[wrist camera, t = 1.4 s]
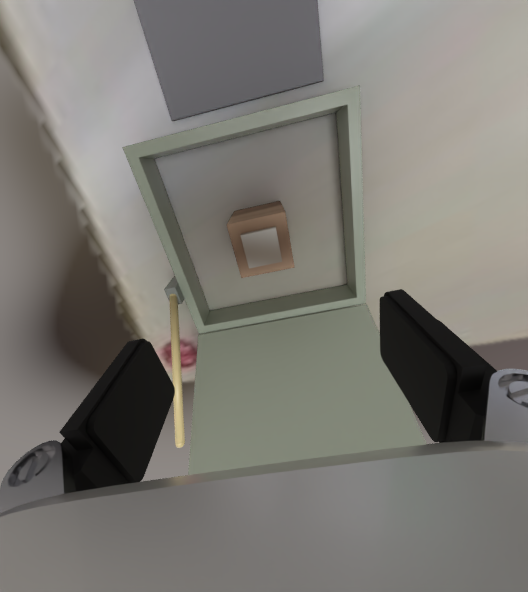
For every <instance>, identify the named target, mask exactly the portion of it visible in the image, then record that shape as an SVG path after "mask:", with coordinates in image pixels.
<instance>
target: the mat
mask: <svg viewBox="0 0 528 592" xmlns="http://www.w3.org/2000/svg"><path fill="white" fill-rule="evenodd" d="M134 3H135V6H136V9H137V12H138V16H139V19H140V22H141V25H142V28H143V31H144V34H145V38H146V41H147V44H148V47H149V50H150V53H151V57H152V60H153V63H154V66H155V69H156V72H157V75H158V79H159V82H160V85H161V88H162V91H163V94H164V97H165V101H166V104H167V107H168V110H169V113H170V116H171V120H172V121H175V120H179V119H183V118H186V117H190V116H194V115H198V114H202V113H205V112H209V111H213V110H217V109H220V108H224V107H228V106H232V105H235V104H239V103H243V102H247V101H250V100H254V99H258V98H262V97H266V96H269V95H273V94H277V93H281V92H284V91H288V90H292V89H296V88H299V87H303V86H307V85H311V84H314V83H318V82H322V81H323V80H324V77H323V65H322V52H321V40H320V27H319V14H318V2H317V0H134Z"/></svg>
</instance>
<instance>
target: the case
mask: <svg viewBox="0 0 528 592" xmlns="http://www.w3.org/2000/svg"><path fill="white" fill-rule="evenodd" d="M332 113H336V116H337V131H338V147H339V162H340V178H341V193H342V209H343V224H344V240H345V255H346V271H347V285H342V286H337V287H332V288H327V289H321V290H316V291H311V292H306V293H300V294H295V295H290V296H285V297H280V298H274V299H269V300H264V301H259V302H253V303H248V304H243V305H238V306H232V307H227V308H222V309H217V310H211V311H210V310H209V308H208V305H207V302H206V299H205V297H204V294H203V291H202V288H201V286H200V283H199V280H198V277H197V275H196V272H195V269H194V267H193V264H192V261H191V258H190V256H189V253H188V250H187V247H186V245H185V242H184V239H183V237H182V234H181V231H180V228H179V226H178V223H177V220H176V217H175V215H174V212H173V209H172V206H171V204H170V201H169V198H168V196H167V193H166V190H165V187H164V185H163V182H162V179H161V176H160V174H159V171H158V168H157V166H156V163H155V160H154V158H158V157H162V156H166V155H170V154H174V153H178V152H182V151H185V150H189V149H193V148H197V147H201V146H205V145H209V144H213V143H217V142H221V141H225V140H229V139H233V138H237V137H241V136H245V135H249V134H253V133H257V132H261V131H264V130H268V129H272V128H276V127H280V126H284V125H288V124H292V123H296V122H300V121H304V120H308V119H312V118H316V117H320V116H324V115H328V114H332ZM123 150H124V152H125V155H126V157H127V160H128V162H129V164H130V167H131V169H132V172H133V174H134V177H135V179H136V181H137V184H138V186H139V189H140V191H141V194H142V196H143V199H144V201H145V203H146V206H147V208H148V211H149V213H150V216H151V218H152V221H153V223H154V225H155V228H156V230H157V233H158V235H159V238H160V240H161V242H162V245H163V247H164V250H165V252H166V255H167V257H168V260H169V262H170V264H171V267H172V269H173V272H174V274H175V276H174V278H173V279H172V280H171V281H170V283H169V284H168V285H167V286H166V288H165V289H164V290H165V292H166V295H167V297H168V299H169V301H170V322H171V347H172V372H173V385H174V388H175V395H174V421H175V444H176V446H177V447H178V448H181V447H182V446H183V445H184V444H185V437H184V419H183V418H184V417H183V399H182V378H181V358H180V338H179V319H178V304H182V302H183V301H184V299H185V301H186V303H187V306H188V308H189V311H190V313H191V316H192V318H193V321H194V323H195V325H196V328H197V330H198V333H199V334H201V335H198V348H197V362H196V375H195V389H194V403H193V416H192V430H191V444H190V458H189V471H188V475H192V474H200V473H207V472H214V471H222V470H229V469H236V468H244V467H251V466H259V465H266V464H274V463H281V462H288V461H296V460H304V459H311V458H319V457H327V456H335V455H342V454H350V453H358V452H366V451H373V450H381V449H390V448H399V447H408V446H417V445H426V442H425V439H424V437H423V435H422V432H421V430H420V428H419V425H418V423H417V421H416V418H415V416H414V414H413V411H412V409H411V406H410V404H409V402H408V400H407V399H406V397H405V396H404V394H403V392H402V391H401V389H400V387H399V386H398V384H397V383H396V381H395V379H394V378H393V376H392V375H391V373H390V371H389V370H388V368H387V367H386V365H385V363H384V362H383V360H382V358H381V354H380V334H379V332H378V329H377V327H376V325H375V322H374V320H373V318H372V315H371V313H370V311H369V308H368V306H367V304H366V288H365V251H364V215H363V179H362V143H361V107H360V86H356V87H352V88H348V89H344V90H340V91H337V92H333V93H329V94H325V95H321V96H317V97H314V98H310V99H306V100H302V101H298V102H294V103H291V104H287V105H283V106H279V107H275V108H271V109H268V110H264V111H260V112H256V113H252V114H248V115H245V116H241V117H237V118H233V119H229V120H225V121H222V122H218V123H214V124H210V125H206V126H202V127H199V128H195V129H191V130H187V131H183V132H179V133H175V134H172V135H168V136H164V137H160V138H156V139H152V140H149V141H145V142H141V143H137V144H133V145H129V146H126V147H123ZM361 304H366V305H361ZM355 305H360V306H355ZM350 306H355V307H350ZM344 307H349V308H344ZM339 308H344V309H339ZM334 309H338V310H334ZM328 310H333V311H328ZM323 311H327V312H323ZM317 312H322V313H317ZM312 313H316V314H312ZM306 314H311V315H306ZM301 315H306V316H301ZM295 316H300V317H295ZM290 317H295V318H290ZM284 318H289V319H284ZM279 319H284V320H279ZM273 320H278V321H273ZM268 321H273V322H268ZM262 322H267V323H262ZM257 323H262V324H257ZM251 324H256V325H251ZM246 325H251V326H246ZM241 326H245V327H241ZM235 327H240V328H235ZM230 328H234V329H230ZM224 329H229V330H224ZM219 330H223V331H219ZM213 331H218V332H213ZM208 332H212V333H208ZM202 333H207V334H202Z"/></svg>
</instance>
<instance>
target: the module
mask: <svg viewBox="0 0 528 592" xmlns="http://www.w3.org/2000/svg"><path fill="white" fill-rule="evenodd" d="M227 228H228V232H229V235H230V239H231V242H232V246H233V249H234V253H235V257H236V260H237V264H238V267H239V271H240V275H241V278H244V277H249V276H254V275H259V274H264V273H269V272H274V271H279V270H284V269H289V268H294V261H293V255H292V249H291V243H290V237H289V231H288V226H287V220H286V214H285V210H284V208H283V206H282V204H281V202H280V201H276V202H272V203H268V204H263V205H259V206H254V207H250V208H245V209H241V210H237V211H234V213H233V215H232V216H231V218H230V220H229V221H228V223H227Z"/></svg>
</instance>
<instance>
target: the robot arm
mask: <svg viewBox="0 0 528 592" xmlns="http://www.w3.org/2000/svg"><path fill="white" fill-rule="evenodd" d="M380 354H381V358H382V360H383V362H384V363H385V365H386V367H387V368H388V370H389V371H390V373H391V375H392V376H393V378H394V379H395V381H396V383H397V384H398V386H399V387H400V389H401V391H402V392H403V394H404V396H405V397H406V399H407V400H408V402H409V404H410V405H411V407H412V408H413V410H414V411H415V413H416V415H417V416H418V418H419V420H420V421H421V423H422V424H423V426H424V428H425V429H426V431H427V433H428V434H429V436H430V437H431V439H432V440H433V441H434V442H439V443H435V444H426V445H417V446H408V447H399V448H390V449H381V450H373V451H366V452H358V453H350V454H342V455H335V456H327V457H319V458H311V459H304V460H296V461H288V462H281V463H274V464H266V465H259V466H251V467H244V468H236V469H229V470H222V471H214V472H207V473H200V474H192V475H185V476H178V477H171V478H165V479H158V480H151V481H143V482H140V481H141V480H142V479H143V477H144V474H145V472H146V469H147V466H148V464H149V461H150V459H151V456H152V453H153V451H154V448H155V445H156V443H157V440H158V438H159V435H160V432H161V429H162V427H163V424H164V421H165V419H166V416H167V414H168V411H169V408H170V406H171V403H172V401H173V398H174V395H175V388H174V385H173V384H172V382H171V380H170V378H169V376H168V374H167V372H166V370H165V369H164V367H163V365H162V363H161V361H160V359H159V357H158V356H157V354H156V352H155V350H154V348H153V346H152V344H151V343H150V342H148V341H146V340H145V339H139V340H133V341H129V342H128V343H127V344H126V345H125V346H124V348H123V349H122V350H121V352H120V353H119V354H118V356H117V357H116V358H115V360H114V361H113V362H112V364H111V365H110V366H109V367H108V369H107V370H106V371H105V373H104V374H103V376H102V377H101V378H100V379H99V381H98V382H97V383H96V385H95V386H94V388H93V389H92V390H91V391H90V393H89V394H88V395H87V397H86V398H85V399H84V400H83V402H82V403H81V404H80V406H79V407H78V409H77V410H76V411H75V412H74V414H73V415H72V416H71V418H70V419H69V420H68V422H67V423H66V424H65V426H64V427H63V428H62V430H61V431H60V433H61V434H62V435H63V437H65V439H64V440H63V442H62V443H60V442H58V441H56V440H53V441H48V442H45V443H42V444H40V445H38V446H36V447H34V448H33V449H31V450H30V451H28V452H27V453H26V454H25V455H23V456H22V457H21V458H20V459H19V460H18V461H16V462H15V464H14V465H13V466H12V467H11V468H10V469H9V470H8V472H7V474H6V475H5V477H4V478H3V481H2V483H1V487H0V592H528V371H526V370H520V369H505V370H500V371H496V370H495V369H494V368H493V367H492V366H491V365H490V364H489V363H487V362H486V361H485V360H484V359H483V358H482V357H480V356H479V355H478V354H477V353H476V352H475V351H474V350H473V349H471V348H470V347H469V346H468V345H467V344H466V343H464V342H463V341H462V340H461V339H460V338H459V337H458V336H456V335H455V334H454V333H453V332H452V331H451V330H450V329H448V328H447V327H446V326H445V325H444V324H443V323H442V322H440V321H439V320H437V319H435V318H434V317H433V316H432V315H431V314H430V313H429V312H428V311H426V310H425V309H424V308H423V307H422V306H421V305H420V304H418V303H417V302H416V301H415V300H414V299H413V298H412V297H411V296H409V295H408V294H407V293H406V292H405V291H404V290H402V289H400V290H395V291H390V292H386V293H385V294H384V297H381V298H380Z"/></svg>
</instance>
